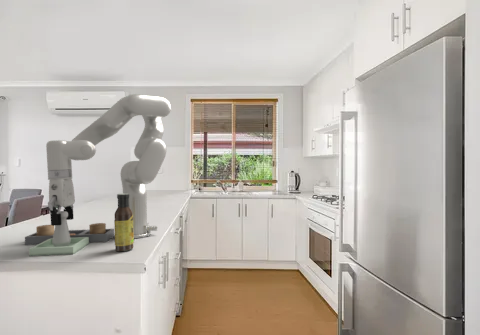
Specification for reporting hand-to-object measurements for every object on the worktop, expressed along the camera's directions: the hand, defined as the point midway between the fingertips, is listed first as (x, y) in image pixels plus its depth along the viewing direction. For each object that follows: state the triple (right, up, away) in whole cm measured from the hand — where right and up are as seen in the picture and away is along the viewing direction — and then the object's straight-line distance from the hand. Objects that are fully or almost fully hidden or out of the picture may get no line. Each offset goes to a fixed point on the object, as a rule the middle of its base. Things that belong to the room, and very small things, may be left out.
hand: (62, 222), depth 111 cm
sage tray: (0, -10, 0) cm, 10 cm away
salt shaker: (0, -9, 0) cm, 9 cm away
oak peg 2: (+6, -10, +14) cm, 18 cm away
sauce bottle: (+23, -10, -2) cm, 25 cm away
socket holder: (-4, -10, +13) cm, 17 cm away
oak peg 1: (-14, -10, +12) cm, 21 cm away
